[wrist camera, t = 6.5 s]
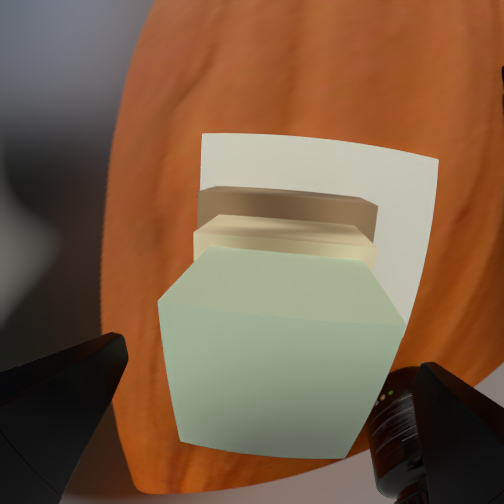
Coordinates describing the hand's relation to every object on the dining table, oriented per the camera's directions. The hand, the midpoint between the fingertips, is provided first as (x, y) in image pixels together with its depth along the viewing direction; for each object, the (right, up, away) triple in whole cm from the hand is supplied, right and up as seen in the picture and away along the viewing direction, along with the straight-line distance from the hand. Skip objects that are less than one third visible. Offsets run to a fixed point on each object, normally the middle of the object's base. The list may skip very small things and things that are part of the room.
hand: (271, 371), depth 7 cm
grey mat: (+3, +4, +9) cm, 10 cm away
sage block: (0, +1, +2) cm, 3 cm away
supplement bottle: (+12, -8, +12) cm, 19 cm away
